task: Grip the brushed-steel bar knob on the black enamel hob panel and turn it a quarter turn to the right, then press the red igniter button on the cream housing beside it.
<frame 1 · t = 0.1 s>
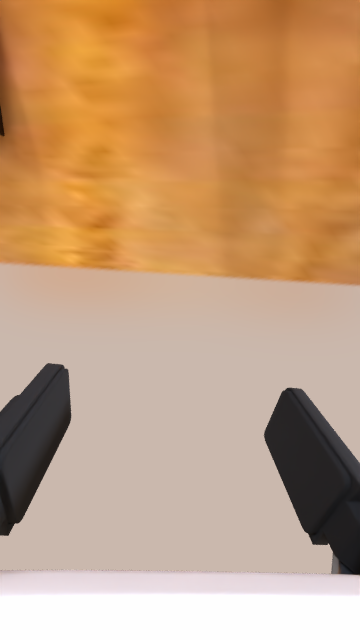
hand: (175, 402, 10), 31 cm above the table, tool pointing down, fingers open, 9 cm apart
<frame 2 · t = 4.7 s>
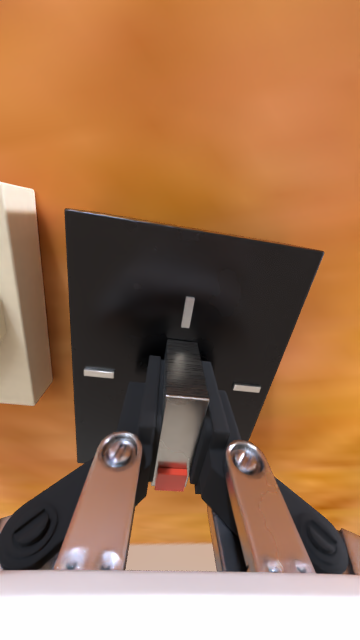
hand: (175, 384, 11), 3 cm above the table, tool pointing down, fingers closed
hob panel: (174, 348, 14), on the table
hob knob: (176, 410, 9), point 5 cm above the table, hinge at 0.0°, touching gripper
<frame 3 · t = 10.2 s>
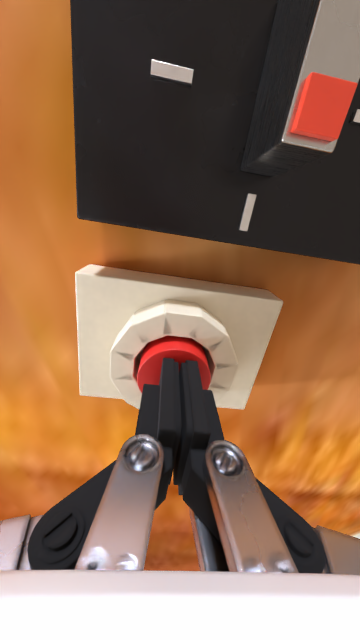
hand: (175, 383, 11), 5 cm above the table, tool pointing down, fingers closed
igniter button: (173, 369, 12), point 4 cm above the table, slide at -0.5 cm, touching gripper
igniter: (173, 334, 15), on the table
hob panel: (248, 129, 11), on the table
hob knob: (306, 63, 6), point 5 cm above the table, hinge at -90.1°
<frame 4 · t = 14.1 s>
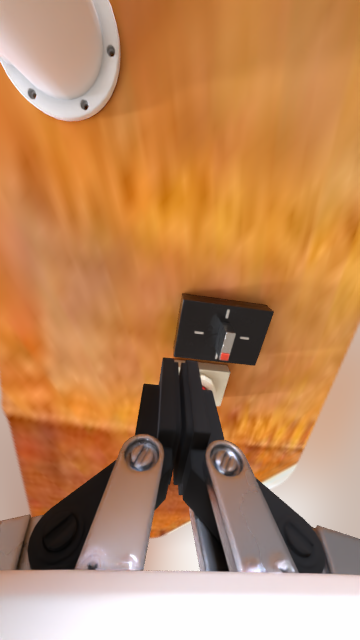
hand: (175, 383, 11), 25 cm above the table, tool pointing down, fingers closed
igniter button: (197, 396, 38), point 4 cm above the table, slide at 0.1 cm
igniter: (194, 379, 42), on the table
hob panel: (218, 326, 38), on the table
hob knob: (224, 341, 33), point 5 cm above the table, hinge at -90.1°
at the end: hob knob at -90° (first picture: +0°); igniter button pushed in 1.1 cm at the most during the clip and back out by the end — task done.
